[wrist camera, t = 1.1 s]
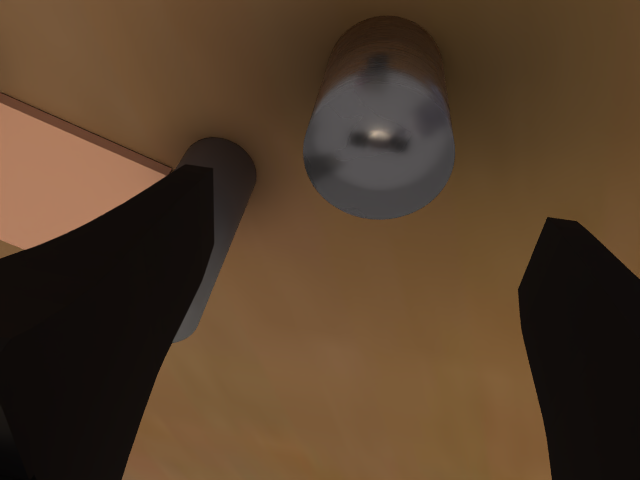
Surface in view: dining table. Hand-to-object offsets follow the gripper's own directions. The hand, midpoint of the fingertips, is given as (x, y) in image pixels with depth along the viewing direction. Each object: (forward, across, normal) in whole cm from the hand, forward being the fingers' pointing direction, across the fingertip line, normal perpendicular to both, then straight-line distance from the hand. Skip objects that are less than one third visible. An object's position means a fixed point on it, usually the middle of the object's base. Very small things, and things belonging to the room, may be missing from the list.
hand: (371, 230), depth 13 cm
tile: (+9, +12, +7) cm, 17 cm away
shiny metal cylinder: (+9, 0, 0) cm, 9 cm away
